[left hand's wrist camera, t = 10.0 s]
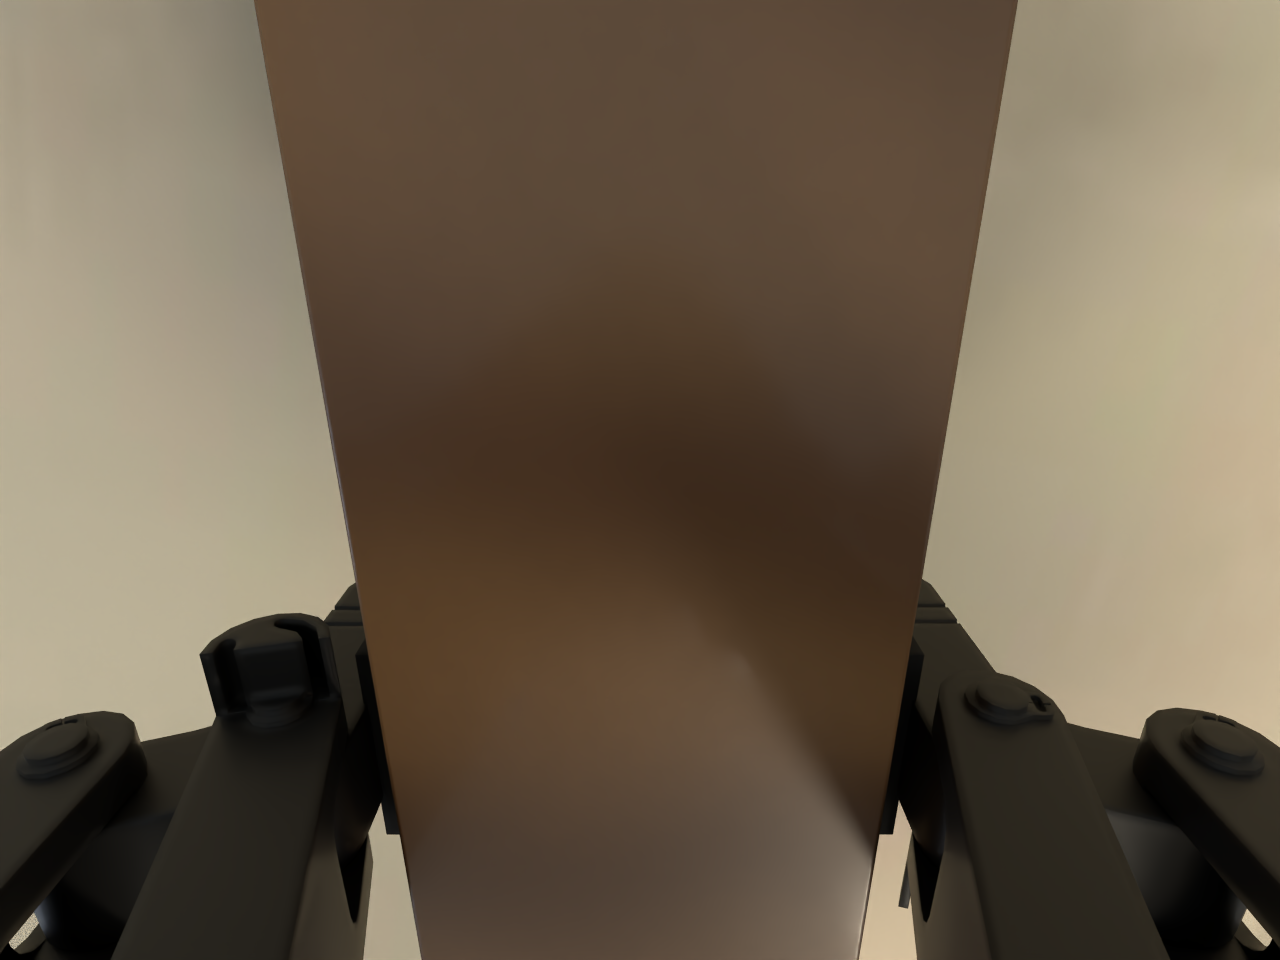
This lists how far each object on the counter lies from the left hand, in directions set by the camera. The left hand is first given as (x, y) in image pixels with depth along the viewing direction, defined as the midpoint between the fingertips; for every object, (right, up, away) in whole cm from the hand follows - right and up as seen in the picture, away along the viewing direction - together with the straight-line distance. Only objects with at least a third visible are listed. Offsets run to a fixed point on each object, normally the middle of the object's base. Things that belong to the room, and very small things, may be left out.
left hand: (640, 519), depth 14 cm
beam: (0, +20, -7) cm, 21 cm away
